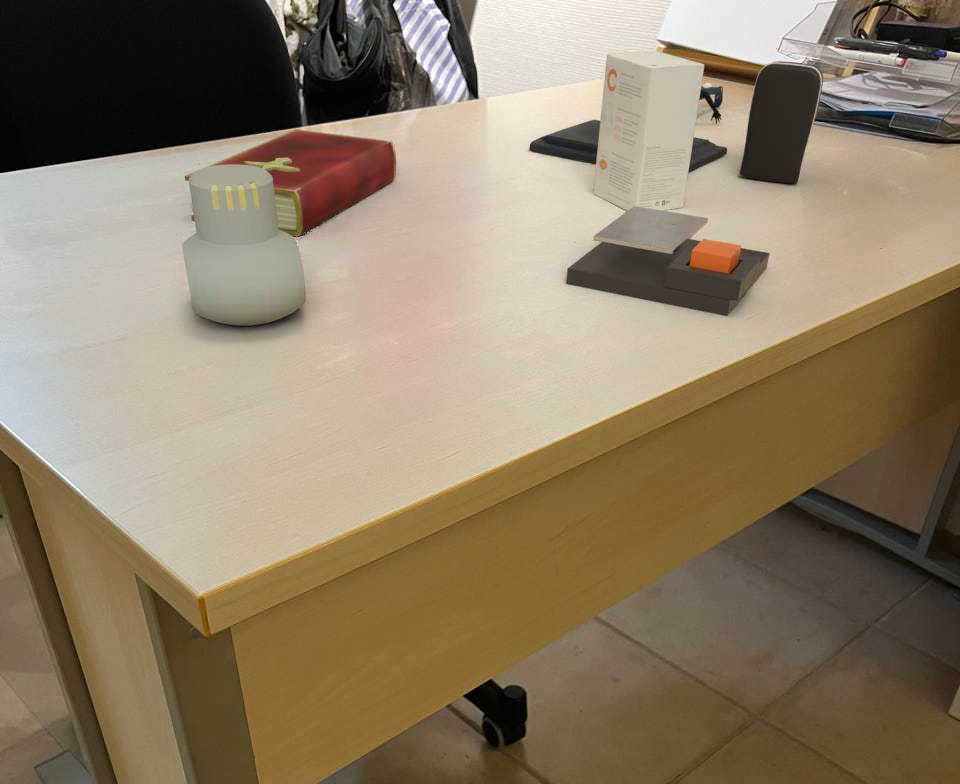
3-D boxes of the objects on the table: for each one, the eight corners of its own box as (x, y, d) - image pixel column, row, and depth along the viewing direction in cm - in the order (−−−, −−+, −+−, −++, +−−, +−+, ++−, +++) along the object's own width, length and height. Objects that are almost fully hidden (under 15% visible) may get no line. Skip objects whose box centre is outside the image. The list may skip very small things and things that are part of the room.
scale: (772, 270, 84) (780, 235, 82) (733, 318, 75) (741, 280, 73) (619, 242, 89) (623, 208, 87) (565, 285, 80) (568, 248, 78)
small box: (684, 209, 97) (707, 63, 89) (632, 215, 95) (651, 67, 87) (640, 188, 103) (658, 49, 94) (591, 194, 101) (604, 52, 92)
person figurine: (668, 113, 140) (625, 115, 126) (674, 78, 137) (631, 76, 124) (740, 122, 136) (703, 125, 122) (747, 86, 134) (711, 85, 120)
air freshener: (312, 335, 70) (299, 192, 64) (199, 345, 68) (174, 199, 62) (292, 284, 78) (279, 152, 72) (190, 292, 76) (166, 157, 70)
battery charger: (803, 178, 108) (830, 62, 100) (798, 186, 105) (825, 68, 98) (743, 170, 110) (764, 56, 102) (736, 178, 107) (757, 61, 100)
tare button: (738, 264, 77) (741, 245, 76) (727, 276, 75) (731, 256, 74) (700, 257, 78) (703, 238, 77) (688, 269, 76) (691, 249, 75)
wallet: (525, 132, 113) (592, 112, 123) (524, 149, 114) (590, 128, 124) (673, 162, 104) (733, 138, 114) (670, 180, 106) (729, 155, 115)
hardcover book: (396, 181, 103) (395, 138, 100) (302, 237, 87) (297, 188, 85) (299, 168, 106) (295, 126, 103) (191, 220, 91) (184, 172, 88)
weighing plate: (707, 222, 84) (708, 218, 84) (672, 254, 77) (673, 249, 77) (633, 210, 86) (634, 205, 86) (593, 240, 80) (593, 235, 79)
